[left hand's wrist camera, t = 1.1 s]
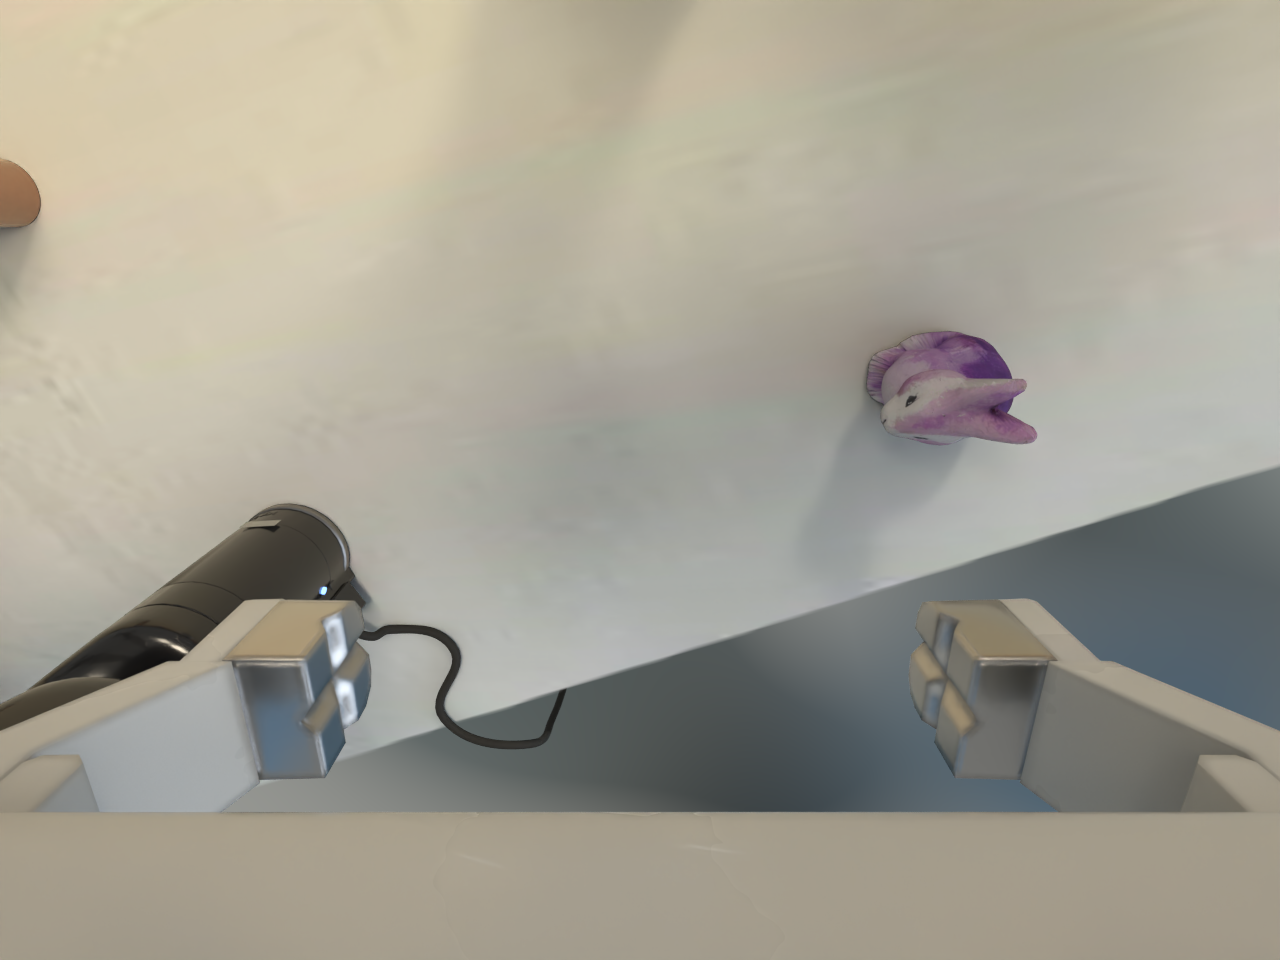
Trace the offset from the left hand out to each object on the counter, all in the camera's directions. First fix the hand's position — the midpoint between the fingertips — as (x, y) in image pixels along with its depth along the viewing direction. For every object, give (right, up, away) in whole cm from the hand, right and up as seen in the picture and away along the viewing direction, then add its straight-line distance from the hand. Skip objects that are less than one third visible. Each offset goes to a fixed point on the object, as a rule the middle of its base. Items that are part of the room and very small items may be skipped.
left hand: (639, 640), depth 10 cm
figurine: (+23, +10, +47) cm, 54 cm away
